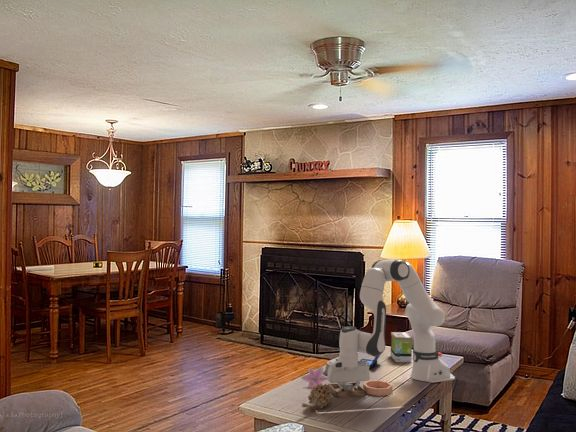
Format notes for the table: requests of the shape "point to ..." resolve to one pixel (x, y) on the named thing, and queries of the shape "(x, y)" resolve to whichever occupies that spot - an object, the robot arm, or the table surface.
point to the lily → (314, 377)
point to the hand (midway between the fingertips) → (348, 390)
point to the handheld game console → (371, 361)
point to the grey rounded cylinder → (348, 387)
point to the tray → (337, 392)
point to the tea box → (401, 347)
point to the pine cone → (319, 396)
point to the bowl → (378, 387)
